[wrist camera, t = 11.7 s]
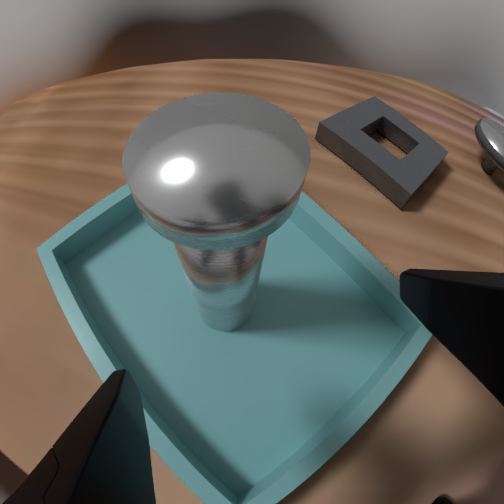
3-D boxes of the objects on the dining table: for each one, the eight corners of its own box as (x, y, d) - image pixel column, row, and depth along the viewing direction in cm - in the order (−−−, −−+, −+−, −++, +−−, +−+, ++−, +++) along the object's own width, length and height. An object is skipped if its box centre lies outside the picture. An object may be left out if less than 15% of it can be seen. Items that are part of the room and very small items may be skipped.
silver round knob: (512, 178, 28) (532, 155, 23) (504, 208, 25) (529, 182, 20) (469, 136, 30) (485, 110, 26) (453, 157, 27) (473, 127, 23)
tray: (414, 336, 18) (438, 324, 15) (235, 511, 12) (236, 530, 10) (225, 156, 24) (224, 128, 21) (56, 268, 18) (36, 248, 16)
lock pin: (276, 290, 18) (333, 125, 7) (241, 356, 16) (257, 258, 5) (212, 258, 19) (193, 80, 8) (173, 318, 17) (86, 174, 6)
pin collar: (439, 164, 26) (448, 152, 24) (400, 209, 23) (411, 194, 21) (369, 109, 29) (374, 96, 28) (314, 138, 26) (319, 122, 24)
